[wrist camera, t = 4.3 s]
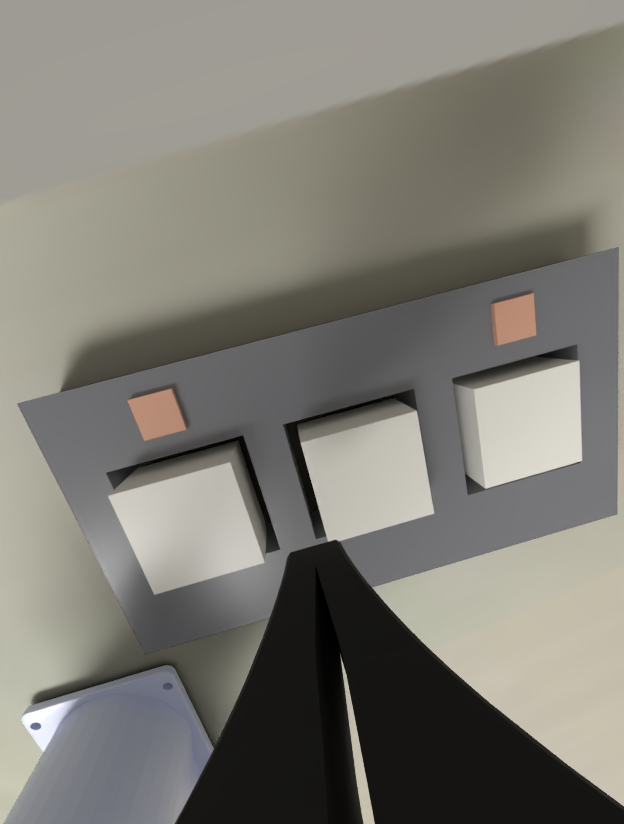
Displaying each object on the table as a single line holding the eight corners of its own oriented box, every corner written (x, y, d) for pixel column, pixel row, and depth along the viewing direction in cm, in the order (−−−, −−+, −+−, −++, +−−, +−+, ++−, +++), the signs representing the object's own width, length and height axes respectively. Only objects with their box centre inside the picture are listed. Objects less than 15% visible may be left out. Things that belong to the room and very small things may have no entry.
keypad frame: (575, 492, 17) (621, 516, 15) (162, 613, 16) (143, 658, 14) (567, 260, 14) (623, 245, 12) (58, 392, 13) (12, 404, 11)
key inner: (267, 526, 15) (265, 562, 12) (174, 553, 15) (154, 594, 12) (238, 440, 14) (229, 462, 11) (137, 467, 13) (107, 495, 11)
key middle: (410, 486, 15) (434, 513, 13) (320, 511, 15) (328, 544, 12) (393, 398, 14) (416, 410, 12) (296, 424, 14) (300, 442, 11)
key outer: (537, 442, 16) (582, 460, 14) (454, 465, 16) (485, 488, 13) (532, 356, 15) (579, 360, 12) (442, 380, 15) (473, 389, 12)
